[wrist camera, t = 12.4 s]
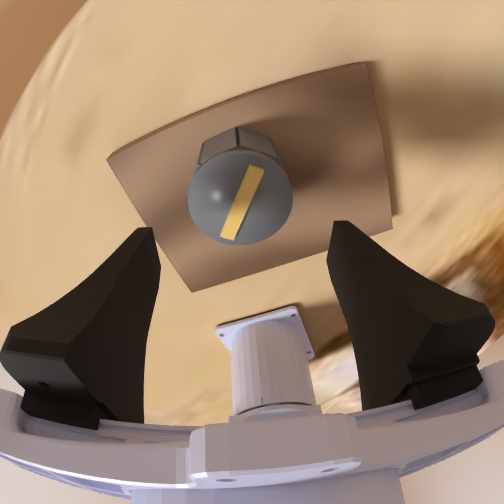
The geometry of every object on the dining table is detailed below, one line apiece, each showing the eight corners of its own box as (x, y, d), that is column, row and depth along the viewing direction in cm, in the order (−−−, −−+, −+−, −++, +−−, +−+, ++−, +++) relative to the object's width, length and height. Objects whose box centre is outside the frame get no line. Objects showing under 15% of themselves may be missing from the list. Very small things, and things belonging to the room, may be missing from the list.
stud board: (386, 219, 22) (408, 252, 19) (192, 281, 25) (189, 320, 21) (357, 62, 15) (388, 70, 12) (112, 152, 17) (88, 179, 14)
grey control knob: (211, 117, 16) (206, 141, 12) (294, 147, 17) (312, 177, 14) (185, 193, 18) (176, 233, 15) (261, 215, 20) (268, 258, 16)
